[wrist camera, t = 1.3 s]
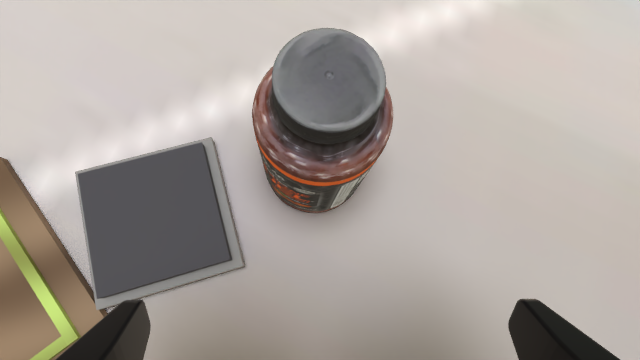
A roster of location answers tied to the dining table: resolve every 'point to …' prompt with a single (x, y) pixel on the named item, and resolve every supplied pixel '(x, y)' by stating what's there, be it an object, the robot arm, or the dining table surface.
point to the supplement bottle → (322, 118)
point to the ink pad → (157, 222)
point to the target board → (37, 281)
